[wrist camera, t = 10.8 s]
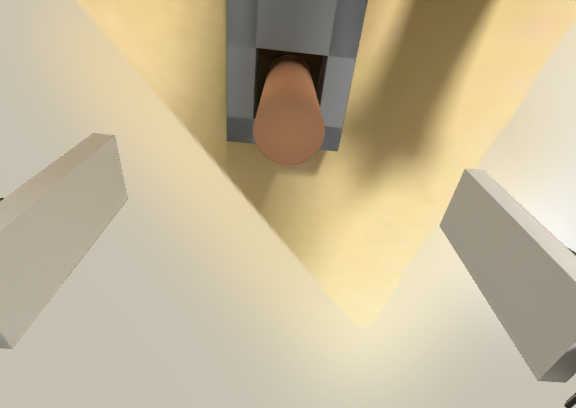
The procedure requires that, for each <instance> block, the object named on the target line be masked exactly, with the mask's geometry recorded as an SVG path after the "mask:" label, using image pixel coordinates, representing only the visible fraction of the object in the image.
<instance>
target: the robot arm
mask: <svg viewBox="0 0 576 408" xmlns="http://www.w3.org/2000/svg"><path fill="white" fill-rule="evenodd" d="M126 201H127V193H126V188H125V183H124V179H123V174H122V169H121V164H120V159H119V154H118V149H117V144H116V139H115V135H106V134H95V133H93V134H92V135H90V136H89V137H88V138H86V139H85V140H83V141H82V142H81V143H79V144H78V145H77V146H75V147H74V148H72V149H71V150H70V151H68V152H67V153H66V154H64V155H63V156H62V157H60V158H59V159H57V160H56V161H55V162H53V163H52V164H51V165H49V166H48V167H46V168H45V169H44V170H42V171H41V172H40V173H38V174H37V175H36V176H34V177H33V178H32V179H30V180H29V181H28V182H26V183H25V184H23V185H22V186H21V187H19V188H18V189H17V190H15V191H14V192H12V193H11V194H10V195H8V196H7V197H6V198H0V348H6V349H13V347H14V346H15V345H16V343H17V342H18V341H19V340H20V338H21V337H22V336H23V334H24V333H25V332H26V330H27V329H28V328H29V327H30V325H31V324H32V323H33V321H34V320H35V319H36V317H37V316H38V315H39V313H40V312H41V311H42V310H43V308H44V307H45V306H46V304H47V303H48V302H49V301H50V299H51V298H52V297H53V295H54V294H55V293H56V292H57V290H58V289H59V288H60V286H61V285H62V284H63V282H64V281H65V280H66V279H67V277H68V276H69V275H70V273H71V272H72V271H73V269H74V268H75V267H76V266H77V264H78V263H79V262H80V260H81V259H82V258H83V256H84V255H85V254H86V253H87V251H88V250H89V249H90V247H91V246H92V245H93V244H94V242H95V241H96V239H97V238H98V237H99V236H100V234H101V233H102V232H103V230H104V229H105V228H106V227H107V225H108V224H109V223H110V221H111V220H112V219H113V218H114V216H115V215H116V213H117V212H118V211H119V210H120V208H121V207H122V206H123V204H124V203H125V202H126ZM440 227H441V229H442V231H443V232H444V234H445V235H446V237H447V239H448V240H449V242H450V243H451V245H452V246H453V248H454V250H455V251H456V253H457V254H458V256H459V257H460V259H461V260H462V262H463V264H464V265H465V267H466V268H467V270H468V272H469V273H470V275H471V276H472V278H473V280H474V281H475V283H476V284H477V286H478V287H479V289H480V291H481V292H482V294H483V295H484V297H485V298H486V300H487V302H488V303H489V305H490V306H491V308H492V309H493V311H494V313H495V314H496V316H497V317H498V319H499V321H500V322H501V324H502V325H503V327H504V328H505V330H506V332H507V333H508V335H509V336H510V338H511V339H512V341H513V342H514V344H515V346H516V347H517V349H518V351H519V352H520V354H521V355H522V357H523V358H524V360H525V362H526V363H527V365H528V366H529V368H530V369H531V371H532V372H533V374H534V376H535V377H536V379H537V381H550V382H567V381H568V380H569V379H570V378H571V377H572V376H573V375H574V374H575V373H576V253H575V252H574V251H572V250H570V249H569V248H567V247H566V246H565V245H564V244H563V243H562V242H560V241H559V240H558V239H557V238H556V237H555V236H554V235H553V234H552V233H551V232H550V231H549V230H547V229H546V228H545V227H544V226H543V225H542V224H541V223H540V222H539V221H538V220H537V219H536V218H535V217H534V216H533V215H531V214H530V213H529V212H528V211H527V210H526V209H525V208H524V207H523V206H522V205H521V204H520V203H519V202H518V201H516V200H515V199H514V198H513V197H512V196H511V195H510V194H509V193H508V192H507V191H506V190H505V189H504V188H502V187H501V186H500V185H499V184H498V183H497V182H496V181H495V180H494V179H493V178H492V177H491V176H490V175H488V174H487V173H486V172H485V171H483V170H473V169H465V170H464V172H463V174H462V177H461V179H460V181H459V183H458V185H457V188H456V190H455V192H454V194H453V197H452V199H451V201H450V203H449V206H448V208H447V210H446V212H445V215H444V217H443V219H442V221H441V223H440ZM575 404H576V393H575V394H574V395H573V396H571V397H570V398H569V399H568V400H567V401H566V403H565V407H566V408H571V407H572V406H574V405H575Z"/></svg>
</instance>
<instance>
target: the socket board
mask: <svg viewBox="0 0 576 408" xmlns="http://www.w3.org/2000/svg"><path fill="white" fill-rule="evenodd" d="M367 1H368V0H227V141H234V142H244V143H255V144H256V142H255V139H254V134H253V127H254V122H255V118H256V114H257V111H258V107H259V106H257V88H258V68H259V48H263V49H272V50H281V51H290V52H299V53H308V54H316V55H322V62H321V69H320V76H319V83H318V90H317V99H318V103H319V106H320V110H321V113H322V117H323V121H324V125H325V136H324V140H323V143H322V145H321V147H320V148H319V150H328V151H338V148H339V143H340V138H341V132H342V127H343V122H344V117H345V112H346V107H347V102H348V97H349V92H350V87H351V82H352V77H353V72H354V67H355V62H356V57H357V52H358V47H359V41H360V36H361V31H362V26H363V21H364V16H365V11H366V6H367Z"/></svg>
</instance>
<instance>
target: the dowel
mask: <svg viewBox="0 0 576 408" xmlns="http://www.w3.org/2000/svg"><path fill="white" fill-rule="evenodd" d="M253 134H254V139H255V142H256V144H257V146H258V148H259V150H260V151H261V152H262V153H263V154H264V155H265V156H266V157H267V158H269V159H270V160H272V161H274V162H277V163H280V164H285V165H292V164H298V163H302V162H304V161H306V160H308V159H309V158H311V157H312V156H313V155H314V154H315V153H316V152H317V151H318V150H319V148H320V147H321V145H322V143H323V140H324V136H325V125H324V121H323V117H322V113H321V110H320V106H319V103H318V99H317V95H316V92H315V88H314V85H313V81H312V78H311V74H310V71H309V68H308V66H307V64H306V63H305V62H304V61H303V60H302V59H301V58H299V57H297V56H294V55H284V56H281V57H279V58H277V59H276V60H275V61H274V62H273V63H272V64H271V66H270V67H269V70H268V73H267V77H266V81H265V85H264V88H263V92H262V96H261V99H260V103H259V107H258V111H257V114H256V118H255V122H254V127H253Z"/></svg>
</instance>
